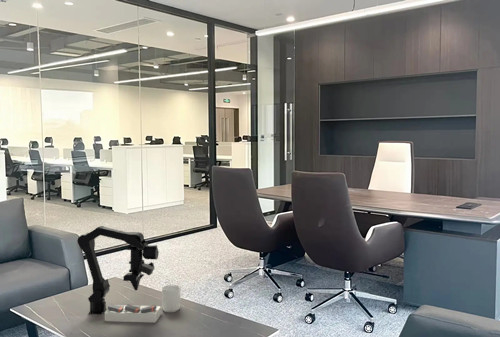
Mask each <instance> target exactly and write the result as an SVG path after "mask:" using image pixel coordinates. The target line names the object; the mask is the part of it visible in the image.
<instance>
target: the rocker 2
mask: <svg viewBox="0 0 500 337" xmlns="http://www.w3.org/2000/svg"><path fill="white" fill-rule="evenodd" d="M135 306H136V305H132V304H129V303H127V304H126V306H125V309H124V310H127V311H130V312H133V313H138V312H139V311H140V308H138V307H135Z"/></svg>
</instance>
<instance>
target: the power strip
mask: <svg viewBox="0 0 500 337" xmlns="http://www.w3.org/2000/svg"><path fill="white" fill-rule="evenodd" d="M116 305H117V306H120V307H124V308H123V311H122V312H115V311H111V310H108V309H106V310H105V311H104V322H123V323H124V322H127V323H157V321H158V320H159V319H160V317H161V315H162V305H161V306H159V305H156V310H155V311H152V312H147V313H141V309H142V308H145V307H149V306H150V305H134V306H135V307H138V308H140V311H139V312H138V313H133V312H130V311H127V310H124V309H125V306H126V305H127V304H126V305H125V304H124V305H123V304H116Z"/></svg>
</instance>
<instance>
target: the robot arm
mask: <svg viewBox="0 0 500 337" xmlns="http://www.w3.org/2000/svg"><path fill="white" fill-rule="evenodd" d="M100 236H102V237H107V238H110V239H114V240H119V241H123V242H125V243H126V244H128V246H127V247H126V248H125V249H126V251H130V260H129V262H128V264H129V265H130V268H129V270H128V272H127V273H126V274H125V275H123V278H122V279H123V281H124V282H130V283H131V285H132V288H133V289H134V291H138V289H139V286H140V282H141V279H142V278H143V277H144V276H145V274H146V275H148V276H151V275H152V274H153V272H154V270H155V265H154V264H155V263H154V262H152V261H151V262H149V263H146V262H145V260H158V259H159V252H160V251H159V249H158V245H157V244H154V245H152V244H150V245H149V244H148V242H147V241H146V239H145V237H144V234H143V233H142V232H139V231H123V230H118V229H114V228H109V227H107V226H103V225H100V226H97V227H96V228H95V229H94V230H91V231H90V232H86V233H84V234H81V235H80V236H78V238H77V245H78V247H79V249H81V251H82V252H83V253H84V255H85V259H86V261H87V265H88V269H89V271H90V275H91V278H92V294H91V295H90V296H89V297H88V299H87V300H88V302H89V311H88V314H91V315H92V314H93V315H102V314H103V313H105V312H106V311H107V307H106V306H107V304H106V303H107V301H106V300H105V299H106V298H105V297H106V296H107V294H108V293H109V292H110V287H111V285H110V283H109V279H108V278H107V279H105V278H104V277H103V274H102V270H101V267H100V264H99V261H98V258H97V254H96V251H95V249H96V248H95V246H96V241H95V240H96V239H97V238H98V237H100ZM144 259H145V260H144Z"/></svg>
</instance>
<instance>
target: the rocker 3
mask: <svg viewBox="0 0 500 337" xmlns="http://www.w3.org/2000/svg"><path fill="white" fill-rule="evenodd" d="M148 306H149V307H145V308H142V309H141V313H147V312H152V311H155V310H156V306H157V305H156V304H154V305H148Z"/></svg>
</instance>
